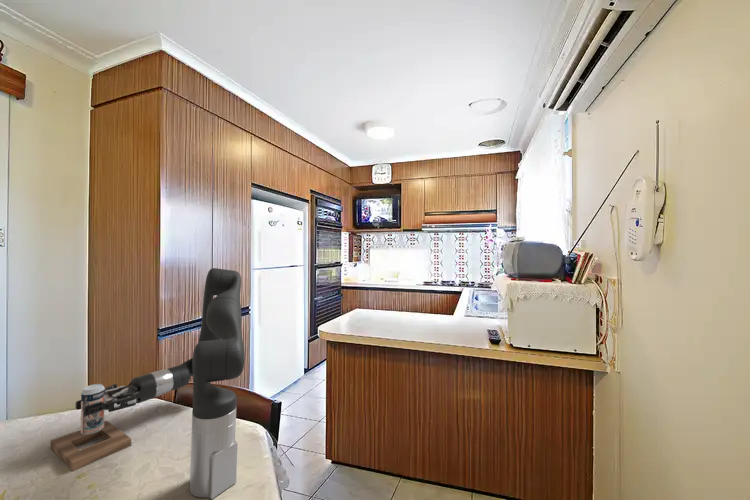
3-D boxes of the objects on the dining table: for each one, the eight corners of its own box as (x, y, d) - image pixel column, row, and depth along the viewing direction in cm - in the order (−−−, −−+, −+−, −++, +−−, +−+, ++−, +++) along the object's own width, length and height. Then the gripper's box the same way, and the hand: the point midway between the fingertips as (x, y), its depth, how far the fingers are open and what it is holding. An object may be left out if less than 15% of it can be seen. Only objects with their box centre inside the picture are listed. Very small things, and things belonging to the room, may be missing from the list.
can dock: (130, 445, 87) (131, 438, 87) (72, 471, 76) (72, 462, 76) (106, 427, 95) (106, 420, 95) (50, 447, 85) (50, 440, 85)
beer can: (82, 438, 83) (83, 392, 82) (78, 431, 86) (79, 387, 85) (106, 430, 87) (107, 386, 86) (101, 423, 89) (102, 381, 89)
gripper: (141, 367, 102) (70, 387, 87) (164, 378, 94) (90, 402, 80) (140, 391, 102) (69, 414, 87) (163, 404, 95) (90, 432, 80)
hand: (80, 408), depth 84 cm, fingers closed on beer can, 4 cm apart
